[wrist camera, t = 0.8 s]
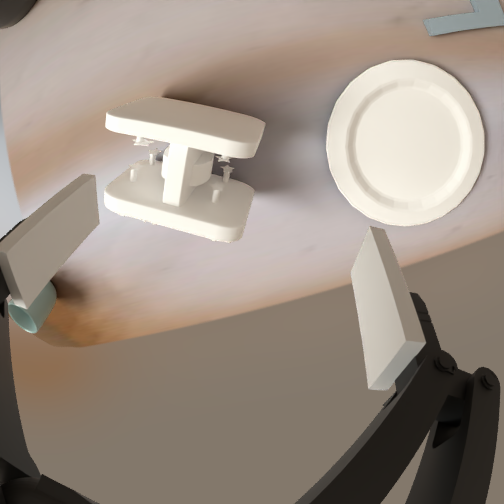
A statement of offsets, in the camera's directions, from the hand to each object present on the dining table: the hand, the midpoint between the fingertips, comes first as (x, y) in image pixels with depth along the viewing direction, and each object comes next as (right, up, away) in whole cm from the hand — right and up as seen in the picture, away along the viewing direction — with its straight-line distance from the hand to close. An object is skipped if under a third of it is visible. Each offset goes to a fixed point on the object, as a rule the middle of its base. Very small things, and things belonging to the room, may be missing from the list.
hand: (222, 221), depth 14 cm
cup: (-40, -8, +41) cm, 58 cm away
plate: (+20, +11, +19) cm, 30 cm away
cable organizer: (-4, +11, +22) cm, 25 cm away
